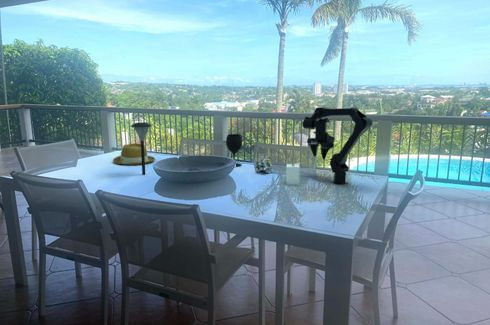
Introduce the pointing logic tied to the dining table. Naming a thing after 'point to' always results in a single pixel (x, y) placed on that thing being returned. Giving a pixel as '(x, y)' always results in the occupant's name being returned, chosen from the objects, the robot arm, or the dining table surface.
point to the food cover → (292, 174)
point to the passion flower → (265, 165)
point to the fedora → (132, 155)
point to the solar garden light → (142, 139)
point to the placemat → (301, 183)
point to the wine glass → (234, 144)
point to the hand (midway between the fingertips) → (319, 157)
